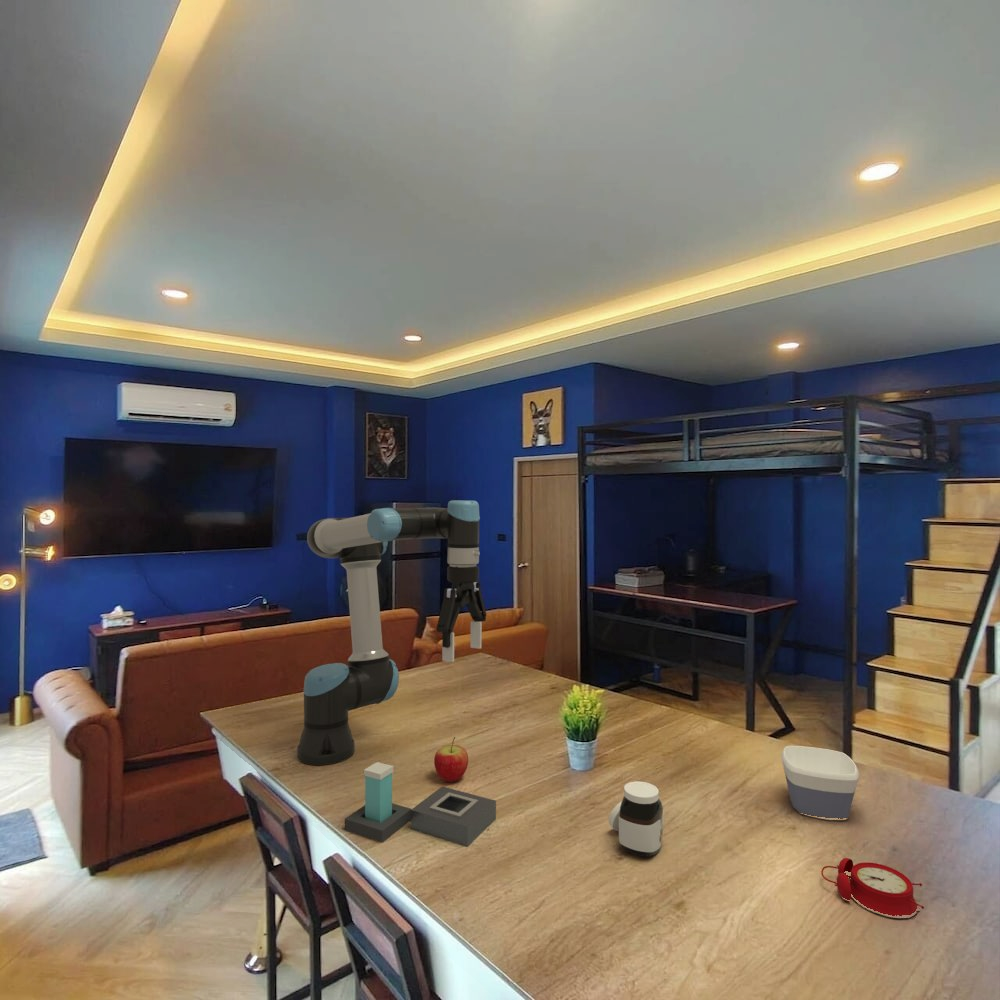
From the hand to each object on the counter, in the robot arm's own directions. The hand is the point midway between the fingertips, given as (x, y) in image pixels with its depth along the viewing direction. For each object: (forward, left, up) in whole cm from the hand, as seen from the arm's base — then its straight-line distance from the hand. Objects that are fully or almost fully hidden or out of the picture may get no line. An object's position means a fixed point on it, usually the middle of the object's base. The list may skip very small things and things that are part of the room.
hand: (462, 654), depth 146 cm
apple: (-6, +4, -33) cm, 34 cm away
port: (+6, -13, -33) cm, 36 cm away
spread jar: (+42, -1, -33) cm, 53 cm away
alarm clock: (+83, +1, -33) cm, 90 cm away
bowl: (+75, +32, -33) cm, 88 cm away
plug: (-8, -21, -33) cm, 40 cm away
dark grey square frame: (-8, -21, -33) cm, 40 cm away
